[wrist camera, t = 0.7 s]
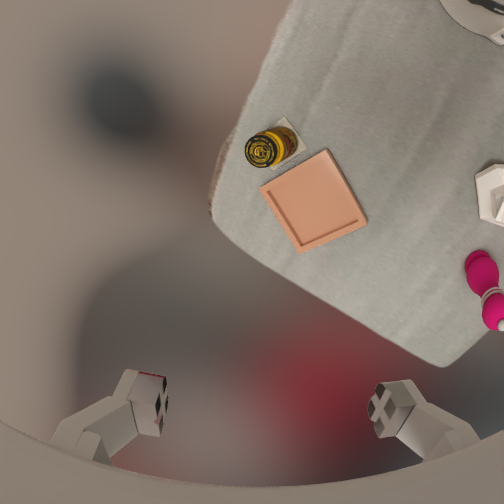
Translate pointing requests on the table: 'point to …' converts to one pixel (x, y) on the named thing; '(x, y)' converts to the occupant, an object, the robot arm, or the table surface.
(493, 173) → the white stepped rock sculpture
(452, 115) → the table surface
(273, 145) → the condiment
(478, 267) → the pepper mill
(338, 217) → the tray
